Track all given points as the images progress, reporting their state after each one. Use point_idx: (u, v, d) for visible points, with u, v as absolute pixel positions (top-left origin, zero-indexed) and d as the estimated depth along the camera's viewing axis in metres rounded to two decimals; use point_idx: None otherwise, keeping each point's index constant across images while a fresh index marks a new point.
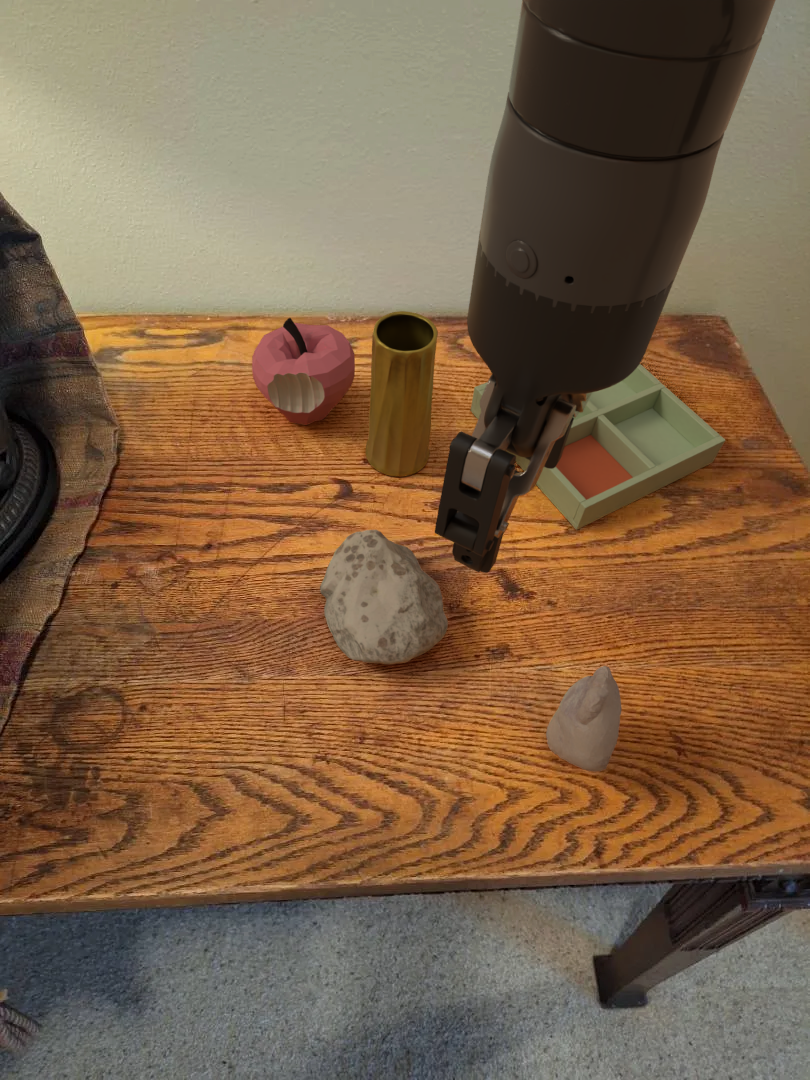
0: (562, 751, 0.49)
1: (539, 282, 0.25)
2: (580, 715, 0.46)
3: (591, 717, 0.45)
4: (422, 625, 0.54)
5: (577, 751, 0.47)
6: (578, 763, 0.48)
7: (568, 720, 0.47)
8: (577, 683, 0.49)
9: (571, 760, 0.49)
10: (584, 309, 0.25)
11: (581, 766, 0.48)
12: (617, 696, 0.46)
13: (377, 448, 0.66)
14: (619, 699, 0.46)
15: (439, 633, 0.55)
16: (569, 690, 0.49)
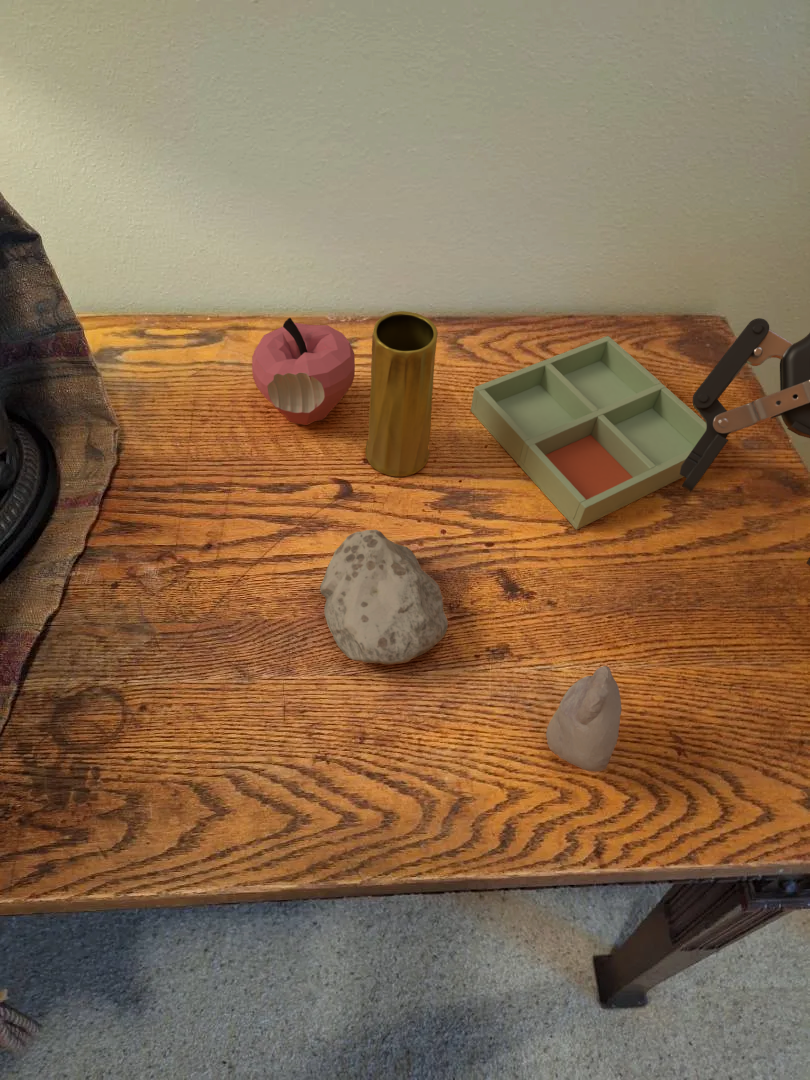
0: (562, 751, 0.49)
1: None
2: (580, 715, 0.46)
3: (591, 717, 0.45)
4: (422, 625, 0.54)
5: (577, 751, 0.47)
6: (578, 763, 0.48)
7: (568, 720, 0.47)
8: (577, 683, 0.49)
9: (571, 760, 0.49)
10: None
11: (581, 766, 0.48)
12: (617, 696, 0.46)
13: (377, 448, 0.66)
14: (619, 699, 0.46)
15: (439, 633, 0.55)
16: (569, 690, 0.49)
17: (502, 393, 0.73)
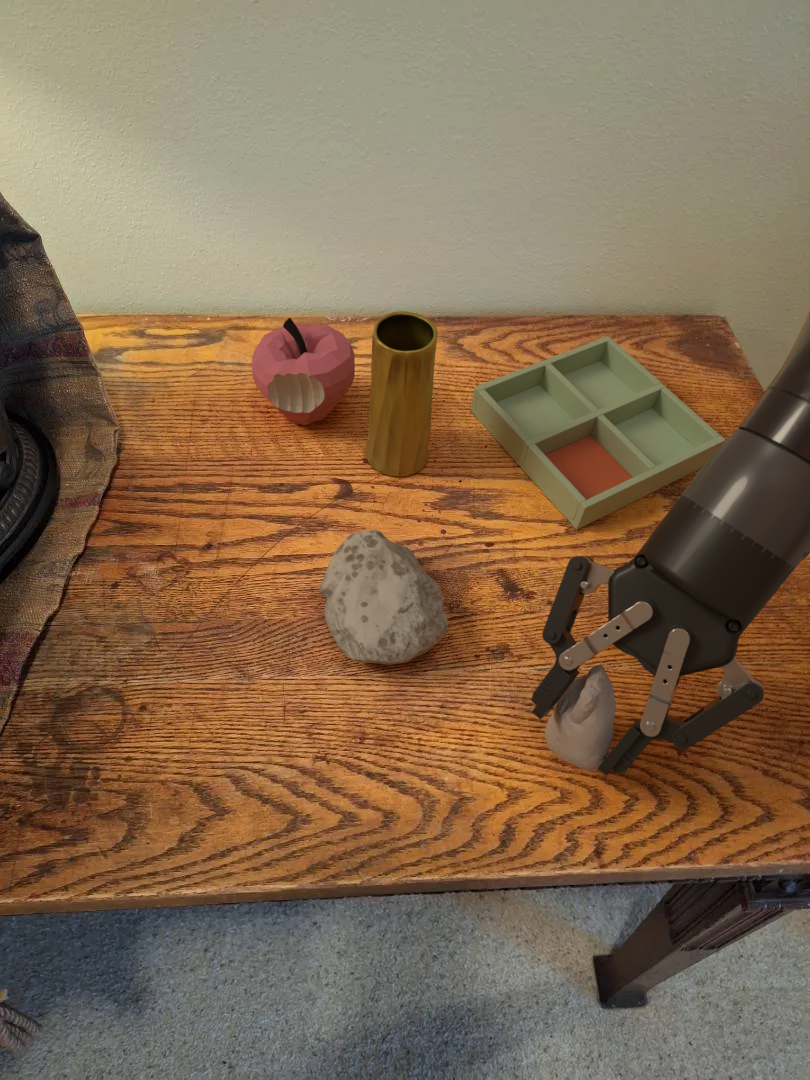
0: (560, 751, 0.49)
1: None
2: (573, 714, 0.46)
3: (585, 717, 0.45)
4: (422, 625, 0.54)
5: (573, 751, 0.47)
6: (575, 763, 0.48)
7: (563, 720, 0.47)
8: (572, 682, 0.49)
9: (568, 760, 0.49)
10: (682, 498, 0.43)
11: (578, 766, 0.48)
12: (611, 695, 0.46)
13: (377, 448, 0.66)
14: (613, 698, 0.46)
15: (439, 633, 0.55)
16: None
17: (502, 393, 0.73)
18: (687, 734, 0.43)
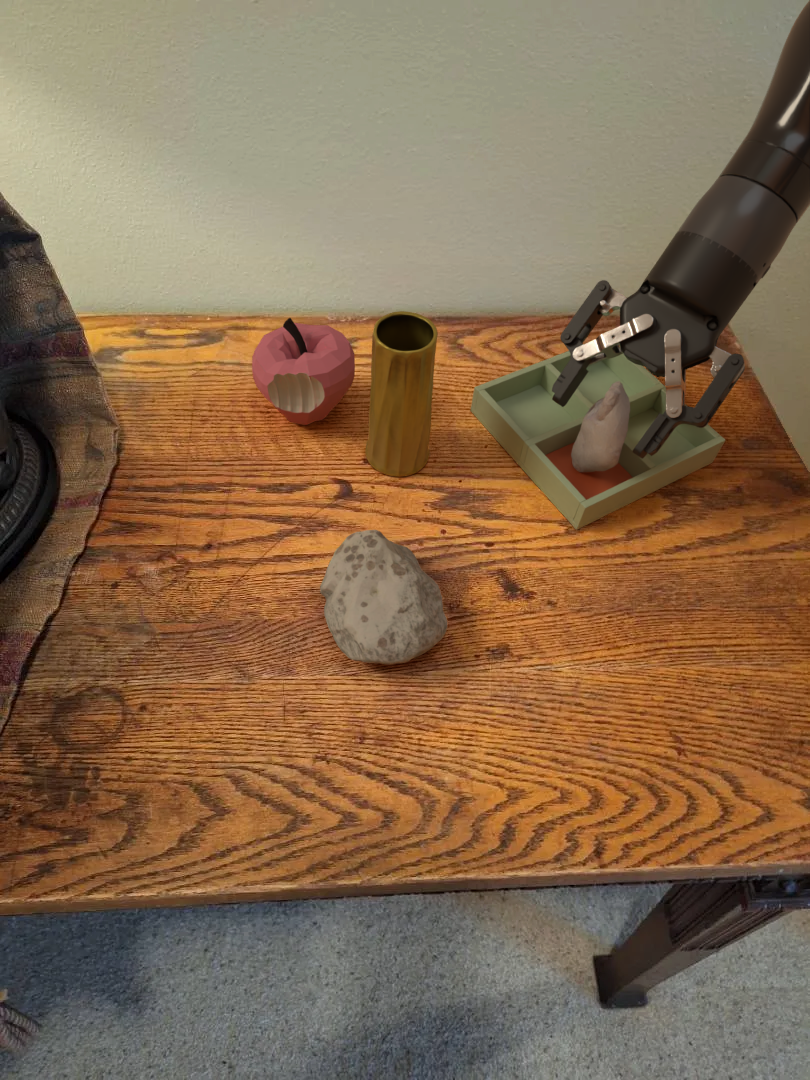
0: (584, 455, 0.64)
1: None
2: (599, 413, 0.61)
3: (608, 411, 0.60)
4: (422, 626, 0.54)
5: (596, 446, 0.62)
6: (596, 459, 0.63)
7: (589, 422, 0.62)
8: (596, 402, 0.64)
9: (591, 460, 0.64)
10: (676, 234, 0.58)
11: (599, 462, 0.63)
12: (627, 399, 0.61)
13: (377, 448, 0.66)
14: (628, 402, 0.61)
15: (439, 633, 0.55)
16: (590, 409, 0.64)
17: (502, 393, 0.73)
18: (700, 410, 0.57)
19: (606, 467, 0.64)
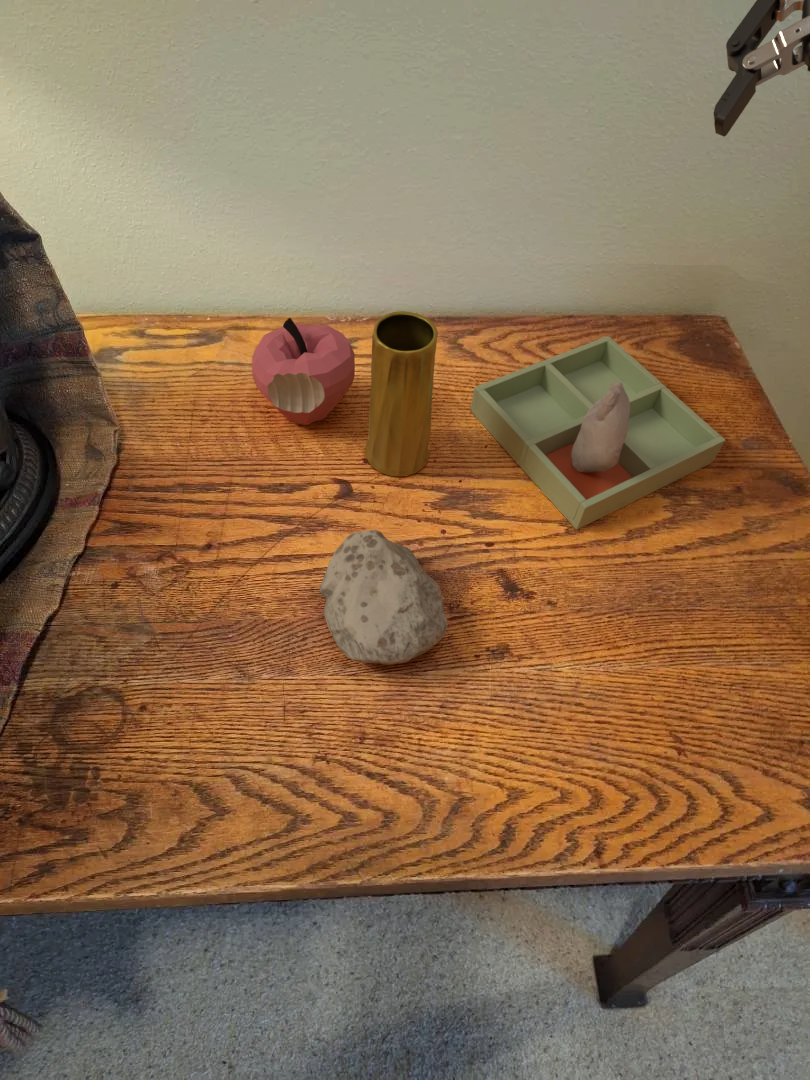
0: (584, 455, 0.64)
1: None
2: (599, 413, 0.61)
3: (608, 411, 0.60)
4: (422, 626, 0.54)
5: (596, 446, 0.62)
6: (596, 459, 0.63)
7: (589, 422, 0.62)
8: (596, 402, 0.64)
9: (591, 460, 0.64)
10: None
11: (599, 462, 0.63)
12: (627, 399, 0.61)
13: (377, 448, 0.66)
14: (628, 402, 0.61)
15: (439, 633, 0.55)
16: (590, 409, 0.64)
17: (502, 393, 0.73)
18: None
19: (606, 467, 0.64)
